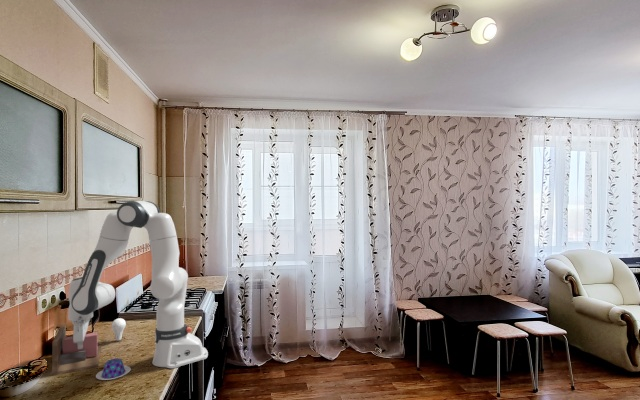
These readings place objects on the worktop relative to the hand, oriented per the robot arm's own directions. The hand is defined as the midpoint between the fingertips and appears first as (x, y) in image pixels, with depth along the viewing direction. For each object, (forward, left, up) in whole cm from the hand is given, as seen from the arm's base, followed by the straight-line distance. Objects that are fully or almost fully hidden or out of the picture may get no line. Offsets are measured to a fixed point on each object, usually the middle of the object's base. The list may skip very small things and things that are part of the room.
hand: (81, 346), depth 152 cm
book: (0, 0, -5) cm, 5 cm away
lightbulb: (-14, -17, -6) cm, 23 cm away
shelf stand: (+1, 0, -6) cm, 6 cm away
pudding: (-13, +21, -7) cm, 25 cm away
